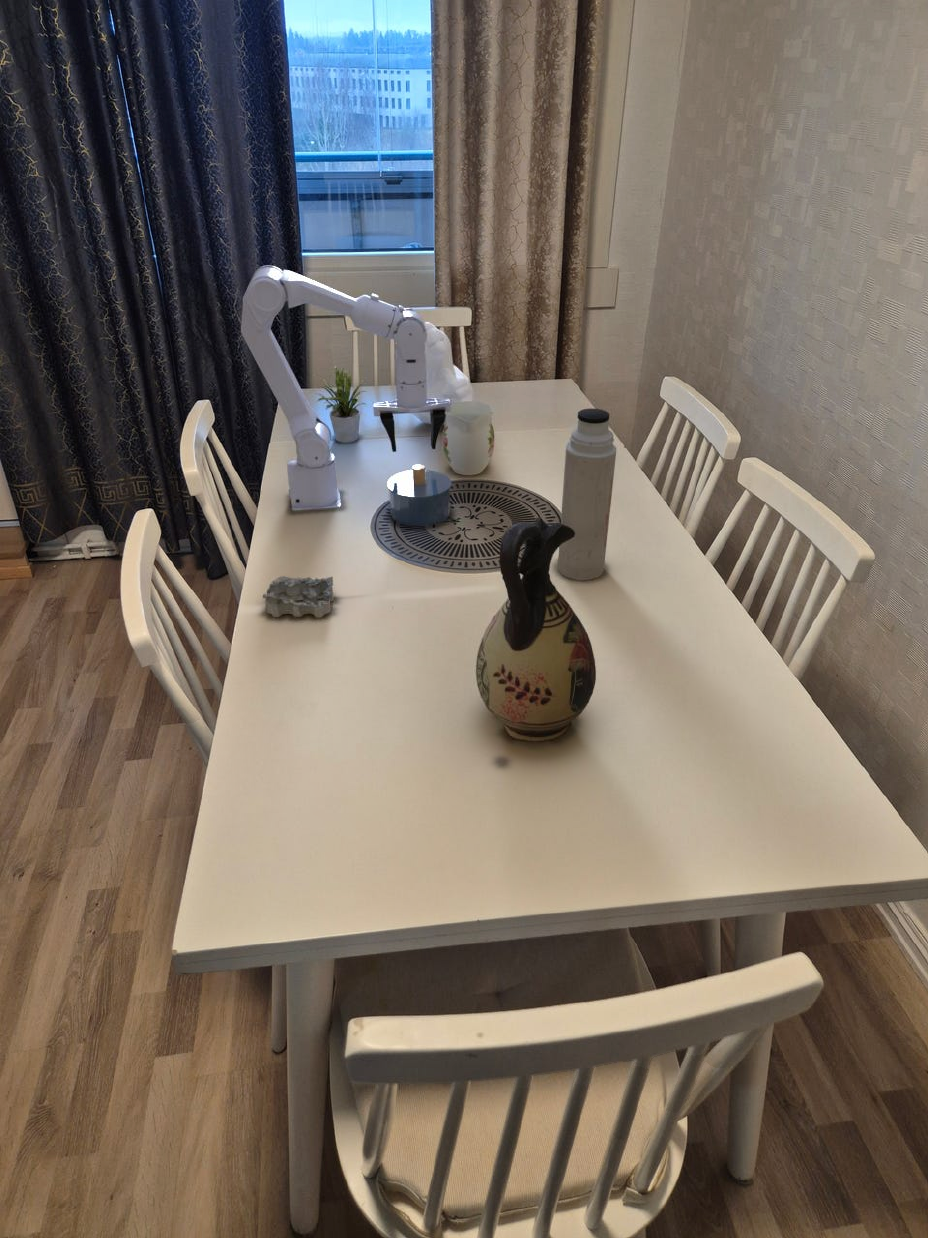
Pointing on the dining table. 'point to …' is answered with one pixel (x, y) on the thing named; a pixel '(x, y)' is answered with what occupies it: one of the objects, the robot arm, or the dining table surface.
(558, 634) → the ceramic jug
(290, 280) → the robot arm
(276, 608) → the egg carton
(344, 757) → the dining table surface
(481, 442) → the pitcher
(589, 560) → the thermos bottle
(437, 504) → the canister
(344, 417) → the house plant
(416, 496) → the lid
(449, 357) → the decorative rooster
